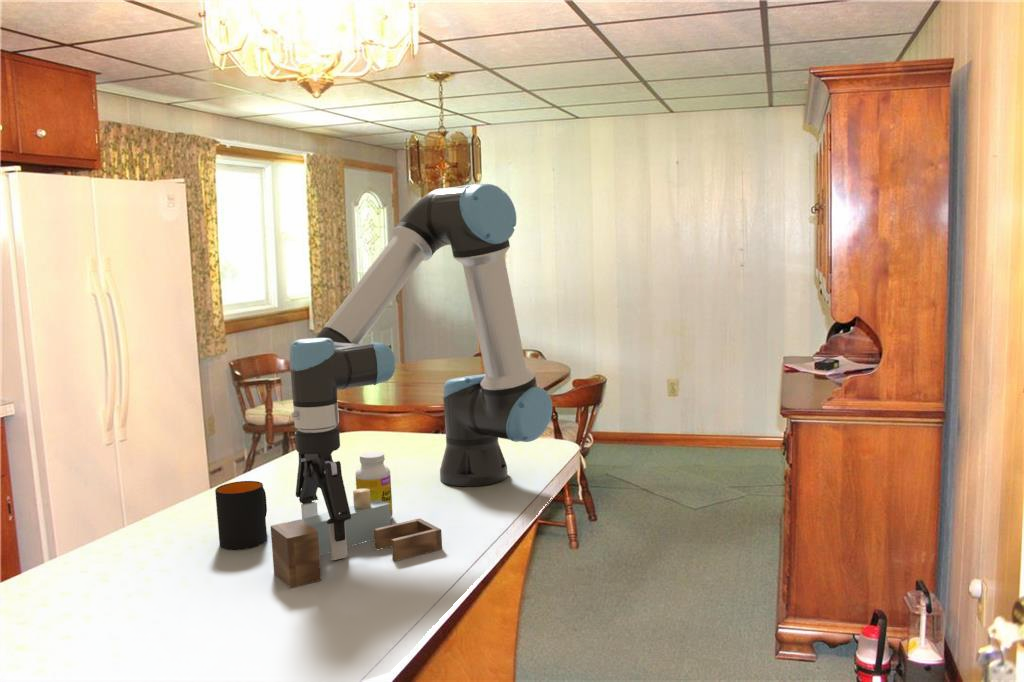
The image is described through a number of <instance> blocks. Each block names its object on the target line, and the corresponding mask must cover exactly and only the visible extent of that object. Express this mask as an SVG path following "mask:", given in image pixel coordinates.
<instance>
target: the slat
mask: <svg viewBox="0 0 1024 682" xmlns="http://www.w3.org/2000/svg"><path fill="white" fill-rule="evenodd" d="M352 497H353V498H352V499H353V505H350V506H349V510H350V514H351V519H348V520H345V525H346V541H347V548H350V547H353V546H352V545H354V546H356V545H355V544H357V545H360V544H359V543H361V544H363V543H362V542H364V543H366V542H365V541H367V542H370V541H369V540H371V541H373V540H372V539H374V529H376V528H380V527H385V526H389V525H392V523H391V520H392V518H391V519H390V504H389V503H386V502H384V501H381V500H378V499H377V500H373V501H371V500H370V490H369V489H357V490H356V489H354V490H353V491H352ZM339 514H340V513H339ZM328 519H330V516H329V513H328V512H324V513H320V514H318V515H316V516H312V517H309V518H305V519H302V518H301V519H300V520H302V521H303V522H305V523H306V524H307V525H309V526H310V527H312V528H313V529H315V530H316V531H318V542H319V556H320V557H321V556H323V555H326V554H330V553H329V552H330V539H329V524H327V521H328ZM349 546H350V547H349Z"/></svg>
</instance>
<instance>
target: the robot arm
mask: <svg viewBox="0 0 1024 682" xmlns="http://www.w3.org/2000/svg"><path fill="white" fill-rule="evenodd" d="M516 225H517V212H516V208H515V205H514V203H513V201H512V199H511V198H510V196H509V194H508V193H507V192H506V191H504V190H503V189H502V188H501V187H499V186H498V185H495V184H491V183H490V184H489V183H472V184H471V183H470V184H465V185H458V186H451V187H448V186H447V187H440V188H436V189H433V190H432V191H430V192H428V193H427V194H425V195H424V196H422V197H421V198H420V199H418V200H417V202H416V203H414V204H413V206H412V207H410V208H409V210H408V211H406V213H405V214H404V215H403V216H402V218H400V220H399V221H398V223H397V224H396V225H395V226H394V228H393V229H392V231H391V236H392V238H391V240H390V241H389V242H388V243H387V245H386V246H385V248H384V249H382V251H381V253H380V254H379V255H378V257H376V259H375V260H374V262H373V263H372V264H371V266H369V268H368V269H367V270H366V272H365V273H364V274H363V276H362V277H361V278H360V280H359V281H358V282H357V283H356V284H355V286H354V287H353V289H352V290H351V291H350V293H348V295H347V296H346V298H345V299H344V300H343V301H342V303H341V304H340V305H339V307H338V308H337V309H336V311H334V313H333V314H332V316H331V317H330V318H329V320H328V321H327V322H326V324H325V325H324V326H323V327H322V329H320V331H319V332H318V334H317V335H315V336H314V337H313V338H300V339H296V340H294V341H292V342H291V344H290V346H289V370H290V380H291V381H290V382H291V383H290V384H291V393H292V395H291V397H292V406H293V407H292V408H293V412H292V411H291V413H290V417H291V418H293V419H294V422H293V423H294V427H295V429H297V430H296V431H295V432H294V439H295V440H294V442H295V450H296V453H298V469H297V477H296V478H297V479H296V486H295V487H296V488H295V497H296V498H299V499H298V500H299V502H300V506H301V519H305V518H309V517H312V516H316V515H319V513H318V502H317V501H319V497H318V495H317V491H318V490H319V489H320V490H321V494H322V497H323V500H324V503H325V507H326V510H327V513H329V516H330V519H328V521H327V524H329V539H330V553H329V554H330V560H331V561H336V560H341V559H343V558H348V547H347V541H346V525H345V520H348V519H351V514H350V510H349V507H350V506H349V505H350V504H349V501H348V497H347V493H346V487H345V484H344V479H343V474H342V463H341V461H339V460H337V461H334V460H333V457H332V453H333V452H334V451H337V450H339V448H340V447H341V438H340V429H339V428H338V425H339V423H340V418H339V417H340V416H339V403H338V402H339V401H338V391H340V390H342V391H343V390H346V389H353V388H354V389H355V388H358V387H366V386H372V385H373V386H377V385H379V384H381V383H387V382H388V381H390V379H392V377H393V376H394V373H395V370H396V358H395V354H394V352H393V350H392V348H391V347H390V346H389V345H388V344H387V343H385V342H382V341H381V342H380V341H379V342H372V341H371V342H370V341H369V342H368V343H362V342H363V340H364V339H365V337H366V336H367V335H368V333H369V332H370V331H371V330H372V328H373V327H374V325H375V324H376V322H377V321H379V319H380V317H381V316H382V315H383V313H384V312H385V311H386V309H387V308H388V306H390V304H391V303H392V302H393V300H394V299H395V298H396V296H397V295H398V294H399V292H400V291H401V289H402V288H403V287H404V286H405V285H406V283H407V282H408V280H409V279H410V278H411V276H412V275H413V274H414V272H415V271H416V270H417V268H419V266H420V265H421V264H422V262H423V261H429V260H430V259H431V258H432V256H434V254H435V253H437V251H438V250H440V249H441V248H443V247H446V246H448V245H449V246H450V248H451V251H452V257H453V259H455V260H456V261H457V262H459V263H460V264H461V265H462V268H463V273H464V277H465V282H466V287H467V292H468V296H469V301H470V304H471V310H472V315H473V320H474V324H475V329H476V334H477V340H478V344H479V349H480V353H481V358H482V363H483V369H484V373H483V374H474V375H467V376H466V375H465V376H461V377H460V376H459V377H455V378H450V379H448V380H446V381H445V383H444V384H443V396H442V399H443V411H444V426H445V441H446V443H445V444H446V446H445V449H444V454H443V457H442V461H441V466H440V468H439V480H440V482H442V483H444V484H446V485H449V486H456V487H479V486H481V487H482V486H487V485H488V486H489V485H494V484H496V483H499V482H501V481H504V480H506V479H507V478H508V465H507V463H506V460H505V457H504V454H503V452H502V449H501V446H500V444H499V439H503V440H508V441H511V442H515V443H516V442H517V443H518V442H522V443H523V442H524V443H531V442H534V441H536V440H537V439H539V438H540V437H541V436H542V435H543V434H544V433H545V431H547V428H548V425H549V423H550V422H551V419H552V416H553V402H552V401H553V400H552V397H551V395H550V393H549V392H548V391H547V390H545V389H544V388H543V387H540V386H538V383H537V380H536V374H535V371H533V370H532V369H530V368H529V367H528V366H527V364H526V361H525V359H526V358H525V354H524V350H523V345H522V340H521V335H520V330H519V325H518V320H517V315H516V309H515V304H514V298H513V294H512V289H511V284H510V278H509V273H508V268H507V263H506V258H505V256H506V254H507V252H508V251H509V249H510V247H511V243H510V238H511V237H512V236H513V234H514V232H515V228H514V227H516ZM318 488H319V489H318ZM339 513H340V514H339Z"/></svg>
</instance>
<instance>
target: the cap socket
mask: <svg viewBox="0 0 1024 682" xmlns="http://www.w3.org/2000/svg"><path fill="white" fill-rule="evenodd" d="M270 537H271V548H272V549H271V550H272V552H271V553H272V564H273V565H272V566H273V574H274V575H275V576H277V577H278V578H279V579H280V580H281V581H282V582H283V583H284V584H285V585H287V587H289V589H292V588H296V587H300V586H305V585H307V584H312V583H316V582H319V581H322V574H321V573H322V572H321V559H320V557H321V555H320V556H319V542H318V531H316V530H315V529H313V528H312V527H310V526H309V525H307V524H306V523H305V522H303V521H302V520H301V519H296V520H291V521H287V522H283V523H278V524H272V525H270Z"/></svg>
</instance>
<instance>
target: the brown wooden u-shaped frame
mask: <svg viewBox="0 0 1024 682" xmlns="http://www.w3.org/2000/svg"><path fill="white" fill-rule="evenodd" d="M442 535H443V534H442V529H441V528H439V527H437V526H435V525H434V524H432V523H429V522H427V521H426V520H424V519H422V518H420V517H419V518H416V519H415V518H414V519H410V520H406V521H402V522H398V523H393V524H391V525H389V526H385V527H380V528H376V529H374V549H375V548H376V549H375V550H377V549H379V550H382V549H381V548H383V549H386V547H387V548H390V546H391V556H392V560H393V561H394V562H398V561H402V560H404V559H410V558H412V557H416V556H420V555H425V554H428V553H433V552H436V551H440V550H443V538H442V537H443V536H442ZM401 559H402V560H401ZM397 560H398V561H397Z"/></svg>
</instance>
